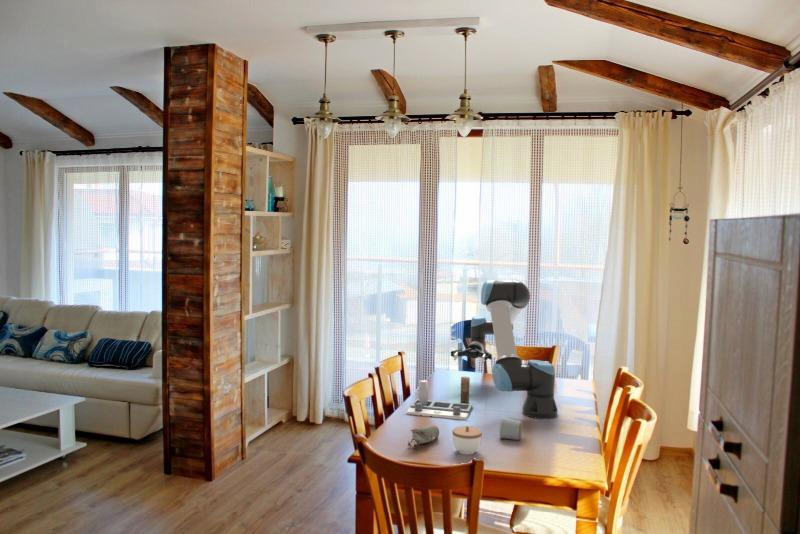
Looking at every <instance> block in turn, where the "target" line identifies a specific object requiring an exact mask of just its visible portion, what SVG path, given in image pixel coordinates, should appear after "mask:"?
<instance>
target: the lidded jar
mask: <svg viewBox="0 0 800 534" xmlns="http://www.w3.org/2000/svg"><path fill="white" fill-rule="evenodd" d="M482 435H483V431H482V430H481V429H480V428H478V427H474V426H470V425H461V426H456V427H454V428H453V429H452V443H453V446H454V448H455V449H456V450H457V451H458V453H459V454H462V455H467V456H468V455H473V454H475V453H476V452H477V451H478V450H479V448H480V447H481V444H482V437H483V436H482Z"/></svg>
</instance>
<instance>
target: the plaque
mask: <svg viewBox="0 0 800 534" xmlns="http://www.w3.org/2000/svg"><path fill="white" fill-rule="evenodd" d="M410 414H412V415H413V416H420V415H422V416H423V417H430V416H432V417H433V418H441V419H443V418H444V419H453V420H461V421H467V420H468V417H469V416H468V413H461V407H459V406H454V407H453V412H451V411H441V410H430V409H422V403H415V408H410V407H409V408H408V409H407V411H406V415H410ZM412 415H411V416H412ZM422 416H421V417H422Z"/></svg>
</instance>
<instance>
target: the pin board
mask: <svg viewBox="0 0 800 534" xmlns="http://www.w3.org/2000/svg"><path fill="white" fill-rule="evenodd" d="M428 396H429V381H428V380H426V379H425V380H424V379H423V380H418V398H416V399H415V400H414V401H413V402H412V403H411V404H410V405H409V408H415V403H422V409H430V410H441V411H451V412H453V407H454V406H459V407H461V413H468V415H470V413H471V412H472V410H473V403H469V404H465V403H460V402H452V401H441V400H429V399H428V398H429V397H428ZM427 405H428V406H427Z"/></svg>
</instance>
